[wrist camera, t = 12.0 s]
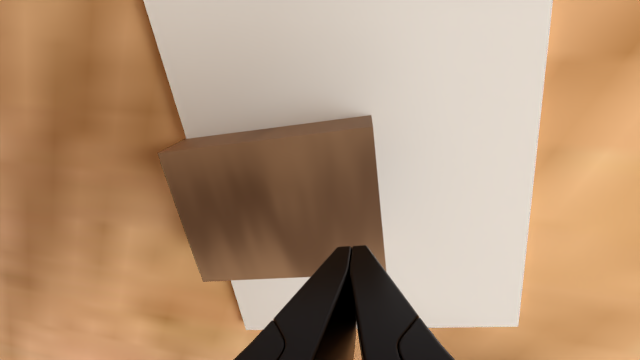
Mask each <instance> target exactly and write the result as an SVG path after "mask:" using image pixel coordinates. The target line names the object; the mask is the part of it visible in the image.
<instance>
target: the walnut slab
mask: <svg viewBox="0 0 640 360" xmlns="http://www.w3.org/2000/svg"><path fill="white" fill-rule="evenodd" d="M158 156H159V159H160V163H161V166H162V169H163V172H164V174H165V177H166V180H167V183H168V186H169V188H170V191H171V194H172V197H173V200H174V203H175V205H176V208H177V211H178V214H179V217H180V219H181V222H182V225H183V228H184V231H185V233H186V236H187V239H188V242H189V245H190V247H191V250H192V253H193V256H194V259H195V261H196V264H197V267H198V270H199V273H200V274H201V277H202V280H203V282H207V281H230V280H252V279H275V278H298V277H311V276H312V275H313V274H314V273H315V271H316V270H317V269H318V268H319V267H320V266H321V265H322V264H323V263H324V261H325V260H326V259H327V258H328V257H329V256H330V255H331V254H332V252H333V251H334V250H335V249H336V248H337V247H342V246H351V247H353V246H359V245H366V246H367V247H368V248H369V249H370V251H371V252H372V253H373V255H374V256H375V257H376V259H377V260H378V261H379V263H380V264H381V265H382V267H383V268H384V269H385V271H386V262H385V251H384V240H383V229H382V219H381V208H380V197H379V186H378V175H377V164H376V154H375V143H374V132H373V123H372V116H371V115H368V116H360V117H353V118H345V119H337V120H329V121H322V122H314V123H306V124H298V125H291V126H283V127H275V128H267V129H259V130H252V131H244V132H236V133H228V134H221V135H213V136H205V137H197V138H190V139H184V140H182V141H180V142H178V143H176V144H174V145H172V146H170V147H168V148H166V149H164V150H162V151H160V152H159V153H158Z"/></svg>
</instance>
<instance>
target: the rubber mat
mask: <svg viewBox="0 0 640 360" xmlns="http://www.w3.org/2000/svg"><path fill="white" fill-rule="evenodd" d="M143 1H144V4H145V7H146V11H147V14H148V17H149V20H150V23H151V27H152V30H153V33H154V36H155V39H156V43H157V46H158V49H159V52H160V55H161V59H162V62H163V65H164V68H165V71H166V75H167V78H168V81H169V84H170V87H171V91H172V94H173V97H174V100H175V104H176V107H177V110H178V113H179V116H180V120H181V123H182V126H183V129H184V132H185V136H186V139H190V138H197V137H205V136H213V135H221V134H228V133H236V132H244V131H252V130H259V129H267V128H275V127H283V126H291V125H298V124H306V123H314V122H322V121H329V120H337V119H345V118H353V117H360V116H368V115H371V116H372V123H373V132H374V143H375V154H376V164H377V175H378V186H379V197H380V208H381V219H382V229H383V240H384V251H385V262H386V272H387V274H388V275H389V276H390V278H391V279H392V280H393V282H394V283H395V284H396V286H397V287H398V288H399V290H400V291H401V292H402V294H403V295H404V296H405V298H406V299H407V301H408V302H409V303H410V305H411V306H412V307H413V309H414V310H415V311H416V313H417V314H418V315H419V318H421V319H422V321H423V322H424V323H425V325H426V326H427V327H428V328H446V327H518V323H519V314H520V305H521V295H522V286H523V276H524V267H525V257H526V248H527V239H528V229H529V220H530V210H531V201H532V192H533V182H534V173H535V163H536V154H537V145H538V135H539V126H540V116H541V107H542V97H543V88H544V79H545V69H546V60H547V50H548V41H549V32H550V22H551V13H552V3H553V0H143ZM309 278H310V277H298V278H275V279H252V280H231V283H232V286H233V289H234V293H235V296H236V299H237V302H238V305H239V309H240V312H241V315H242V318H243V321H244V325H245V328H246V330H263V329H264V328H265V327H266V326H267V325H268V324H269V323H270V322H271V321H272V320H273V319H274V317H275V316H276V315H277V314H278V313H279V312H280V311H281V309H282V308H283V307H284V306H285V305H286V304H287V303H288V302H289V301H290V299H291V298H292V297H293V296H294V295H295V294H296V293H297V292H298V290H299V289H300V288H301V287H302V286H303V285H304V284H305V283H306V282H307V280H308V279H309ZM273 321H274V320H273ZM356 329H357V328H356Z"/></svg>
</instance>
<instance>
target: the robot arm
mask: <svg viewBox="0 0 640 360" xmlns="http://www.w3.org/2000/svg"><path fill="white" fill-rule="evenodd" d="M273 320H274V321H273ZM273 320H272V321H271V322H270V323H269V324H268V325H267V326H266V327H265V328H264V329H263V331H262V332H261V333H260V334H259V335H258V336H257V337H256V338H255V339H254V340H253V341H252V342H251V343H250V344H249V345H248V346H247V347H246V348H245V349H244V350H243V351H242V352H241V353H240V354H239V355H238V356H237V357H236V358H235V359H234V360H353V358H354V349H355V339H356V328H357V329H358V336H359V343H360V350H361V356H362V360H455V359H454V358H453V357H452V356H451V355H450V354H449V353H448V352H447V351H446V349H445V348H444V347H443V346H442V345H441V344H440V342H439V341H438V340H437V339H436V337H435V336H434V335H433V334H432V332H431V331H430V330H429V329H428V327H427V326H426V325H425V323H424V322H423V321H422V319H421V318H419V315H418V314H417V313H416V311H415V310H414V309H413V307H412V306H411V305H410V303H409V302H408V301H407V299H406V298H405V296H404V295H403V294H402V292H401V291H400V290H399V288H398V287H397V286H396V284H395V283H394V282H393V280H392V279H391V278H390V276H389V275H388V274H387V272H386V271H385V269H384V268H383V267H382V265H381V264H380V263H379V261H378V260H377V259H376V257H375V256H374V255H373V253H372V252H371V251H370V249H369V248H368V247H367V246H366V245H359V246H353V247H351V246H342V247H337V248H336V249H335V250H334V251H333V252H332V254H331V255H330V256H329V257H328V258H327V259H326V260H325V261H324V263H323V264H322V265H321V266H320V267H319V268H318V269H317V270H316V271H315V273H314V274H313V275H312V276H311V277H310V278H309V279H308V280H307V282H306V283H305V284H304V285H303V286H302V287H301V288H300V289H299V290H298V292H297V293H296V294H295V295H294V296H293V297H292V298H291V299H290V301H289V302H288V303H287V304H286V305H285V306H284V307H283V308H282V309H281V311H280V312H279V313H278V314H277V315H276V316H275V317H274V319H273Z"/></svg>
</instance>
